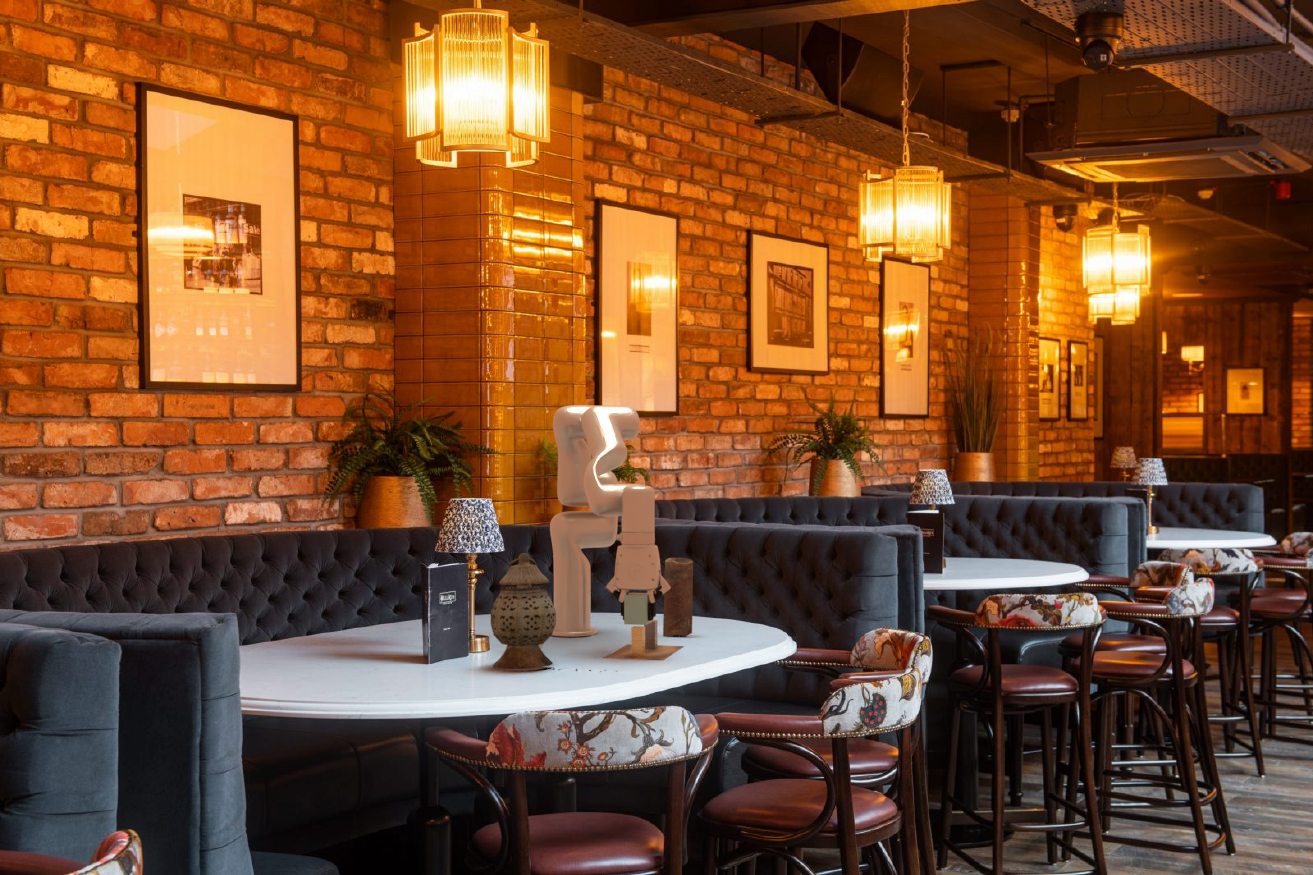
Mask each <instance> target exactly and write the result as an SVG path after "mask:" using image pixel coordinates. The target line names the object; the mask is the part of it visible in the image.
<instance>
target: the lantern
mask: <svg viewBox="0 0 1313 875" xmlns="http://www.w3.org/2000/svg"><path fill="white" fill-rule="evenodd" d="M517 562H518V564H515V563H517ZM530 562H531V563H532V564H531V563H530ZM513 564H514V565H513ZM549 583H550V580H549V579H548V577H546V575H544V574H543V573H542V572H541V570H540V568H538V565H537V563H536V561H535V559H533V558H531V557H530V555H529V554H528V553H526V552H522V553H520V554H519V555H518V558H515V559H513V560H512V561H510V563H509V564H508V571H507V572H506V574H505V575H504V576H503V577H502V578H501V580H500V581H498V585H499V586H500V592H499V594H498V596H497V597H496V599H495V600H494V602H493V605H492V608H491V611H490V626H491V629H492V633H493V636H494V637H495V638H496V639H497V641H498V642H500V643H501V645H506V648H505V651H504V652H503V654H502V655H501V656H500V658H499V659H497V660H496V661H495V662H494V663H493V665H492V669H494V670H495V671H499V672H500V671H501V672H506V673H508V672H509V673H534V672H543V671H548V670H552V669H554V667H552V666H551V665H553V664H554V663H553V661H552V660H551V659H549V657H548V656H547V655H545V653H544V652H543V651H542V649H540V647H539V645H540V644H543V645H544V644H545V643H546V642H547V641H548V639H550V637H551V636H553V635H552V633H553V630H554V628H555V625H556V610H555V608H554V602H553V601H552V599H551V596H549V593H548V591H547V587H546V584H549ZM550 666H551V667H550Z"/></svg>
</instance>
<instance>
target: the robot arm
mask: <svg viewBox="0 0 1313 875" xmlns="http://www.w3.org/2000/svg"><path fill="white" fill-rule="evenodd" d="M552 419H553V421H552V422H553V423H552V432H553V435H554V438H555V439H554V440H555V443H556V446H557V459H558V460H557V484H556V487H557V489H556V491H557V500H558V501H559V503H560V504H561V505H563V506H566V507H589V508H590V510H586V511H585V510H571V511H568V510H567V511H562V512H559V513H557V514H555V515H554V516H553V517H552V518H551V520H550V523H549V532H550V539H551V545H552V554H553V555H552V557H553V605H554V608H555V610H556V625H555V628H554V630H553V633H552V635H551V636H554V637H566V638H569V637H570V638H574V637H587V636H588V637H589V636H594V635H596V634H597V631H598V630H597V628H595V627H592V625H591V623H592V622H591V619H592V616H591V609H592V608H591V606H592V605H591V604H592V603H591V601H592V600H591V593H592V592H591V590H592V589H591V588H592V587H591V586H592V585H591V583H592V582H591V578H592V577H591V571H592V570H591V564H590V561H589V560H588V558H587V557H586V555H585V554H584V553H583V551H582V549H593V548H594V549H595V548H596V549H598V548H609V547H611V546H612V545H613V544H615V542H616V541H620V544H621V545H618V546H617V550H616V557H615V563H614V564H615V565H614V575H613V577H612V578H611V579H610V581H609V582H608V583H607V584H606V586H605V588H606V589H607V590H608V591H609V592H610V593H612V594H613V595H614V596H615V598H617V600H618V601H619V602H620V616H621V617H622V621H624V595H626V594H628V593H630V591H646V593H648V597H649V603H648V621H651V620H655V617H656V616H657V601H659V599H660V598H661V597H662V596H664V593H666V592H667V591H668V590H669V589H670V585H669V584H668V583H667V582H666V580H665V577H664V576H662V569H661V559H660V551H659V547H658V545H656V544H655V543H656V542H655V541H656V538H655V532H656V531H655V529H656V528H655V527H656V526H655V524H656V523H655V522H656V521H655V514H656V513H655V502H656V501H655V489H654V488H653V487H652V486H650V485H643V484H639V483H619V482H618V478H617V477H616V474H615V473H614V472H613V470H615V469H617V468H619V467H620V466H622V465H623V464H624V463H625V461H626V459H627V457H628V448H627V446H626V443H625V441H628V440H629V441H630V440H631V441H632V440H634V439H636V438H637V437H638V435H639V433H640V431H641V420H640V417H639V414H638V412H637V410H636V409H634V408H633V407H632V406H630V405H602V404H601V405H591V404H590V405H589V404H575V405H574V404H573V405H565V406H562V407H559V408H558V409H557V410H556V411H555V413H554V416H553V418H552ZM619 517H621V531H620V533H618V526H619V525H618V520H619ZM660 587H661V588H660ZM659 588H660V589H659ZM656 589H659V590H658V591H657V592H656Z"/></svg>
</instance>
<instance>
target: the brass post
mask: <svg viewBox="0 0 1313 875" xmlns="http://www.w3.org/2000/svg"><path fill="white" fill-rule="evenodd" d="M630 630H631V631H630V634H631V635H630V639H631V641H630V642H631V643H630V644H631V656H635V657H643V656H645V627H644V625H637V626H635V625H634V626H632V627H630Z"/></svg>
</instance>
